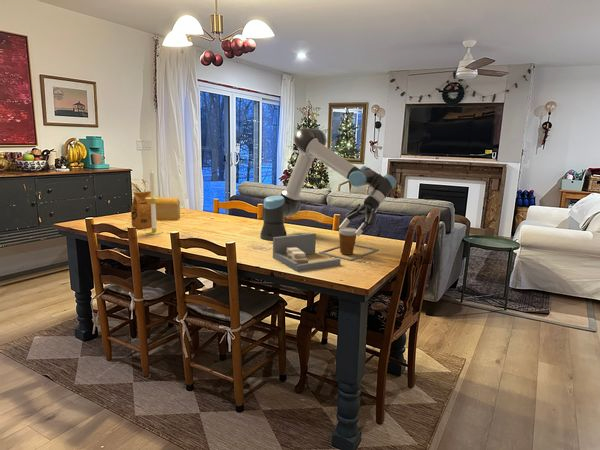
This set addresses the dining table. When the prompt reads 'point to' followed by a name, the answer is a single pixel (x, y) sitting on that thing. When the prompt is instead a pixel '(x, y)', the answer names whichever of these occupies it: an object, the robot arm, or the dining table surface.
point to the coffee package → (141, 210)
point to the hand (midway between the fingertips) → (348, 231)
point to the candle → (152, 204)
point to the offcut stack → (296, 255)
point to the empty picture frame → (348, 258)
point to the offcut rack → (304, 244)
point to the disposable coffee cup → (347, 240)
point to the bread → (167, 208)
